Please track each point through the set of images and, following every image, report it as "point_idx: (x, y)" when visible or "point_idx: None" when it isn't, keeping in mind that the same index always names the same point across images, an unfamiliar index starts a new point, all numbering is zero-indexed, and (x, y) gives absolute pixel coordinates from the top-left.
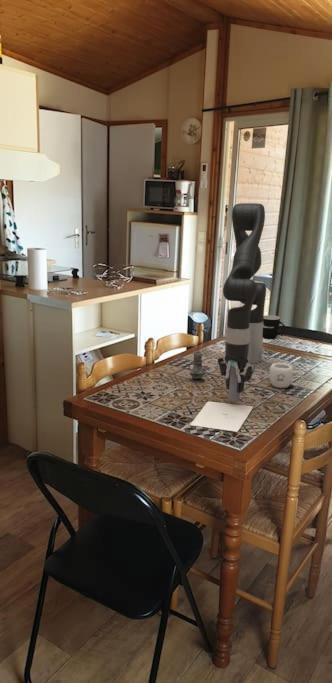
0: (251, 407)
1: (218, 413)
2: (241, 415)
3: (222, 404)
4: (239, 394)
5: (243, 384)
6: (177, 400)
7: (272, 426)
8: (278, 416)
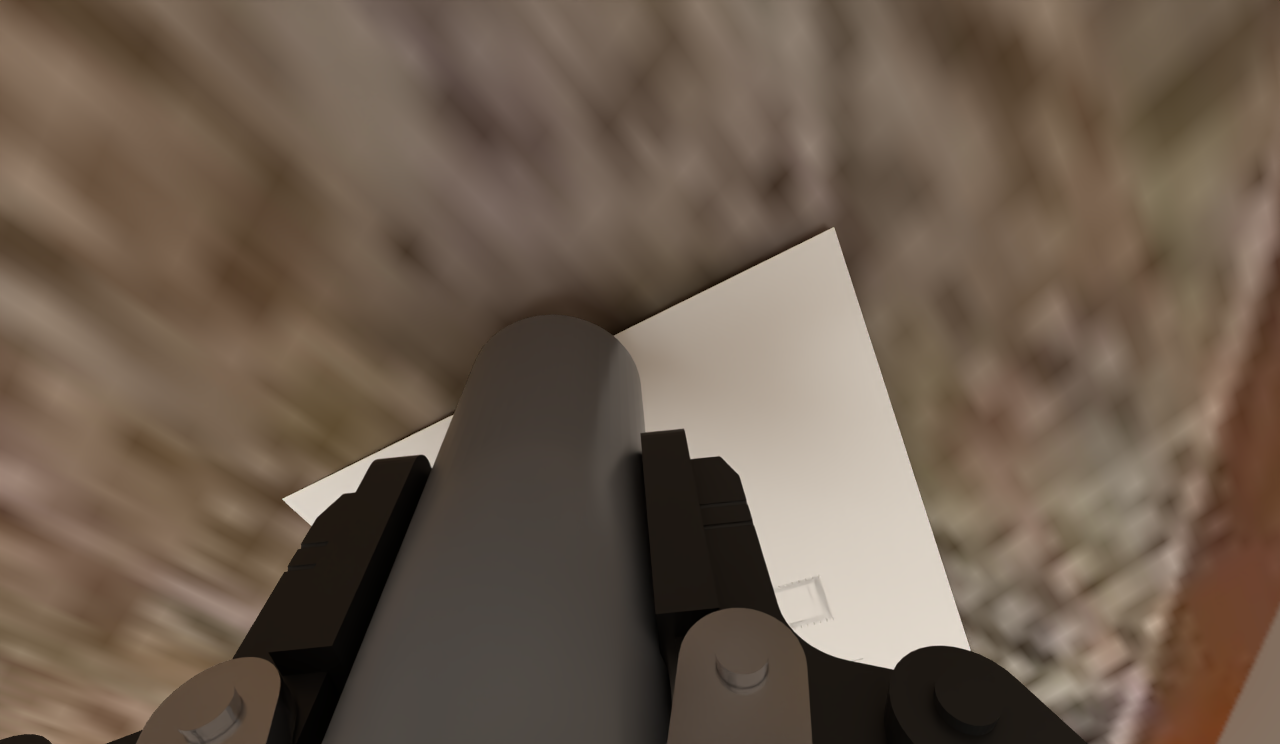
0: (824, 279)
1: None
2: (855, 527)
3: None
4: (640, 423)
5: (768, 593)
6: (119, 683)
7: (1234, 461)
8: (1251, 188)
